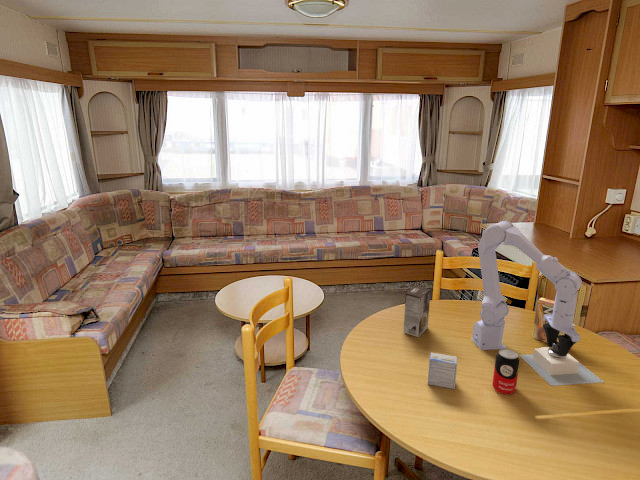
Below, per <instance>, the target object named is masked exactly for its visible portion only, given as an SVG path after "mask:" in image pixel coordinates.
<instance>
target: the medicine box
mask: <svg viewBox="0 0 640 480" xmlns="http://www.w3.org/2000/svg"><path fill="white" fill-rule="evenodd" d="M428 360H429V361H428V371H427V372H428V373H427V385H429V386H430V385H431V386H435V387H442V388H447V389H453V390H455V389H456V378H457V369H458V368H457V366H458V357H457V356H455V355H448V354H443V353H435V352H430V354H429V359H428Z"/></svg>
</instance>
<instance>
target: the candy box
mask: <svg viewBox="0 0 640 480" xmlns="http://www.w3.org/2000/svg"><path fill="white" fill-rule="evenodd" d="M554 302H555V300H552V299H548V298H545V297H540V298H539V299H538V300H536V308H535V315H534V321H533V328H532V334H531V335H532V336H531V338H533V339H535V340H539V341H540V342H543V343H547V337H546V333H545V330H544V328H543V324H547V323H548V321H544V320H543V318H544V314H550V315H552V314H553V308H554ZM559 335H564V333H563V332H560V333H559ZM557 342H559V340H558V338H557Z"/></svg>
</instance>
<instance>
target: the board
mask: <svg viewBox="0 0 640 480" xmlns="http://www.w3.org/2000/svg"><path fill="white" fill-rule="evenodd" d="M533 354H534V353H533ZM533 354H532V353H531V354H518V357H520V358H521V359H522V360H523V361H524V362H525V363H526V364H528V365H529V366H530V367H531V368H532V369H533V370H534V371H535V372H536V373H537V374H538V375H539V376H540V377H541V378H542V379H543V380H544V381H546V383H548V384H549V386H551V387H554V386H568V385H583V384H585V385H587V384H598V383H599V384H600V383H605V381H604V380H603V379H601V378H600V377H599V376H597V375H596V374H595V373H594V372H592V371H591V370H590V369H588V368H587V367H586V366H585V365H583V363H581V362H579V367H578V372H577V374H562V375H549V374H548V373H547V372H546V371H545V370H544V369H543V368H542V367H540V366H539V365H538V364H537V363H536V362H535V361H534V360H533Z"/></svg>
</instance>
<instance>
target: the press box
mask: <svg viewBox="0 0 640 480" xmlns="http://www.w3.org/2000/svg"><path fill="white" fill-rule="evenodd" d="M549 348H550V347H548V346H543V347H542V346H541V347H540V348H537V347H536V348H535V347H534V349H533V360H534V361H535V362H536V363H537V364H538V365H539V366H540V367H542V368H543V369H544V370H545V371H546V372H547V373H548V374H549V375H562V374H577V372H578V367H579V363H580V361H579V360H577V359H576V358H575V357H573V355H571V354H570V353H568V354H567V356H565V357H563V358H558V357H554V356H552V355H550V354H549V353H548V349H549Z"/></svg>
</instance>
